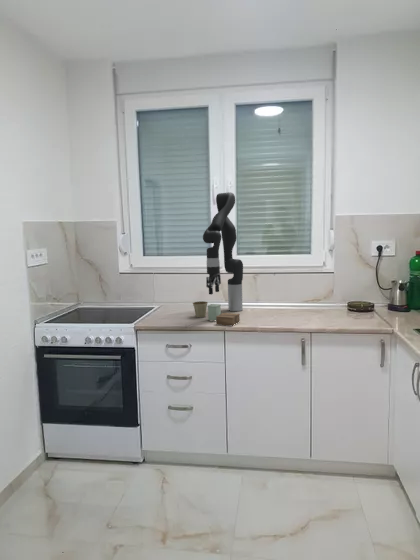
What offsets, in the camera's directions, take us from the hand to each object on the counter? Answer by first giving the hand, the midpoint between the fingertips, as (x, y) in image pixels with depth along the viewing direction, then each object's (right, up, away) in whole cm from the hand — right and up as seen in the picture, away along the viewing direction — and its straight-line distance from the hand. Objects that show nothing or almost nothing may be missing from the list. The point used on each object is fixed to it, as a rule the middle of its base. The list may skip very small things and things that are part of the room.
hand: (214, 293), depth 245 cm
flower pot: (-8, -15, +12) cm, 21 cm away
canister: (0, -16, +2) cm, 16 cm away
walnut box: (+8, -17, -7) cm, 20 cm away
